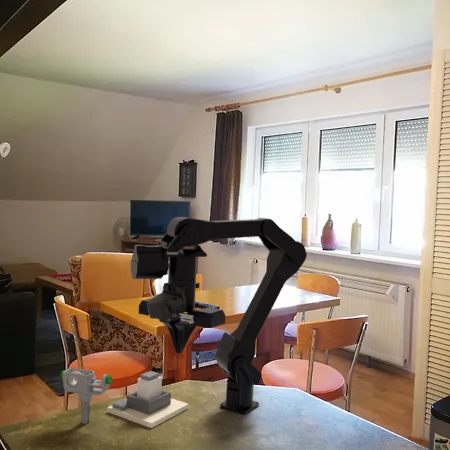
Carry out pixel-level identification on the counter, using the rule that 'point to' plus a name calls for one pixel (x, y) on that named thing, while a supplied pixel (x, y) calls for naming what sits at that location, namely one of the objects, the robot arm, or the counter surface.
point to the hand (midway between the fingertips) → (179, 353)
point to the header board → (148, 409)
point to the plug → (149, 386)
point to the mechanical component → (84, 387)
